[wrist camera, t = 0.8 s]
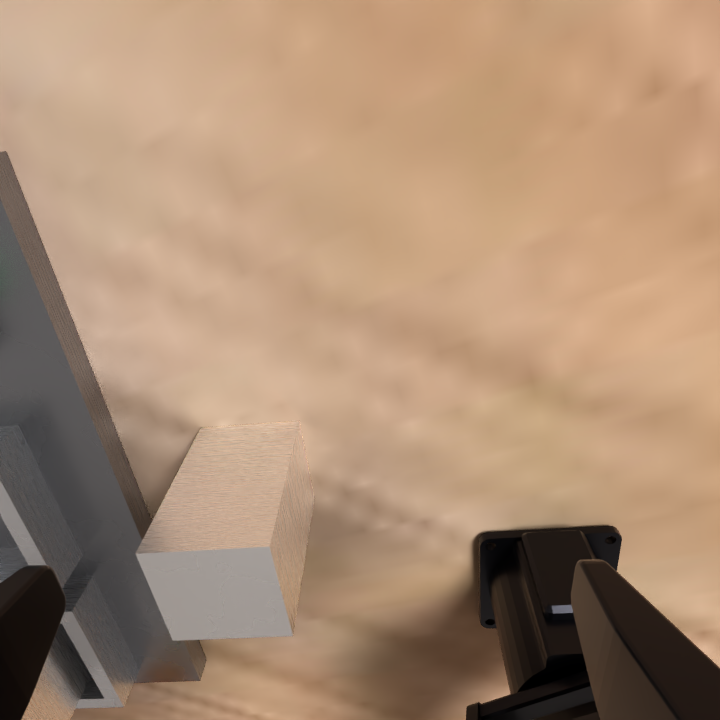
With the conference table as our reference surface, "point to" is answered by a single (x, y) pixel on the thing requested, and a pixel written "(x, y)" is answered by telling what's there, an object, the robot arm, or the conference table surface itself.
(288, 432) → the aluminium block
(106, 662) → the dark grey fixture board
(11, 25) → the conference table surface
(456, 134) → the conference table surface
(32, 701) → the block
